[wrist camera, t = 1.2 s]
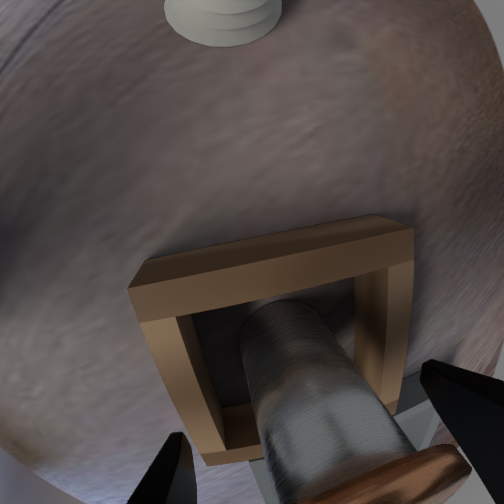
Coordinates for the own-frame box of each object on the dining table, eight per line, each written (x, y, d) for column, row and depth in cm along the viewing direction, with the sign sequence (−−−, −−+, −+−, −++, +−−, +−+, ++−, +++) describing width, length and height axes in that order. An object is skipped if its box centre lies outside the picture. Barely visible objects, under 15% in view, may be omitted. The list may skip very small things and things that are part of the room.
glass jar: (338, 366, 14) (434, 515, 5) (235, 392, 14) (271, 575, 4) (334, 270, 13) (505, 425, 3) (209, 298, 12) (229, 544, 3)
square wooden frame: (371, 381, 15) (395, 413, 12) (205, 425, 14) (207, 466, 11) (373, 214, 12) (414, 227, 10) (145, 260, 11) (127, 288, 9)
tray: (398, 469, 20) (408, 485, 18) (273, 511, 19) (278, 531, 17) (431, 365, 16) (452, 385, 14) (243, 429, 15) (248, 462, 12)
